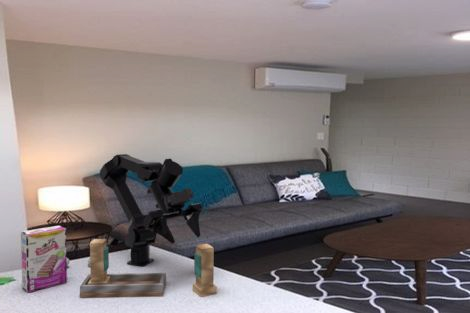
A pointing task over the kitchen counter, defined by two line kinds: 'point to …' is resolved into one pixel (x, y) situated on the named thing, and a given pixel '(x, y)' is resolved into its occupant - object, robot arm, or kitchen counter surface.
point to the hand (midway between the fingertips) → (186, 239)
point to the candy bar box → (43, 258)
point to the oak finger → (204, 270)
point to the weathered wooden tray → (117, 278)
